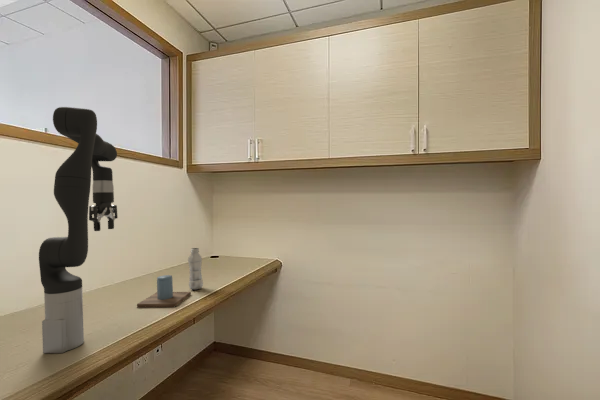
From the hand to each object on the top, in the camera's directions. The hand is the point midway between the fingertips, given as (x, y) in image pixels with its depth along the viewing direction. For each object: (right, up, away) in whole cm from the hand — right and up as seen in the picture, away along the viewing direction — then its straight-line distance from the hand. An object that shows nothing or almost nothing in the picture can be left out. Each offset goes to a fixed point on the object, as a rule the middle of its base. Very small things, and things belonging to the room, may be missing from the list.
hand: (104, 229), depth 130 cm
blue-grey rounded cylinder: (+24, -30, +4) cm, 39 cm away
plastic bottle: (+32, -31, +21) cm, 49 cm away
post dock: (+24, -31, +4) cm, 40 cm away
